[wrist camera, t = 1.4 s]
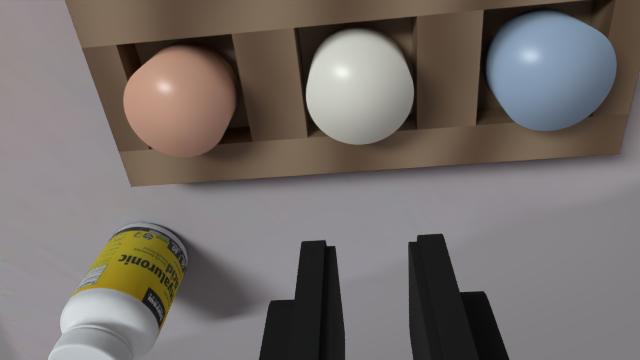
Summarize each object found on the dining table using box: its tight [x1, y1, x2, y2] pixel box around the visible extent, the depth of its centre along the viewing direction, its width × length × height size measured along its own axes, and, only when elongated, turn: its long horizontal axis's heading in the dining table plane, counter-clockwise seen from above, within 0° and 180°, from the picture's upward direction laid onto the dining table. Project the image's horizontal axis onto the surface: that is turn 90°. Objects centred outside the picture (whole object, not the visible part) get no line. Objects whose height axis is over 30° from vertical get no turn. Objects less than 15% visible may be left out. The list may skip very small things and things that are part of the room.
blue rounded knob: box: [483, 8, 617, 131], centre depth 22 cm, size 5×5×3 cm
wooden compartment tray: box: [65, 0, 640, 187], centre depth 24 cm, size 26×10×3 cm, turn 96°
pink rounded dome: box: [123, 42, 239, 157], centre depth 24 cm, size 5×5×3 cm
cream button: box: [306, 26, 414, 145], centre depth 23 cm, size 5×5×3 cm
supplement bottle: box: [48, 223, 188, 360], centre depth 29 cm, size 5×5×10 cm
